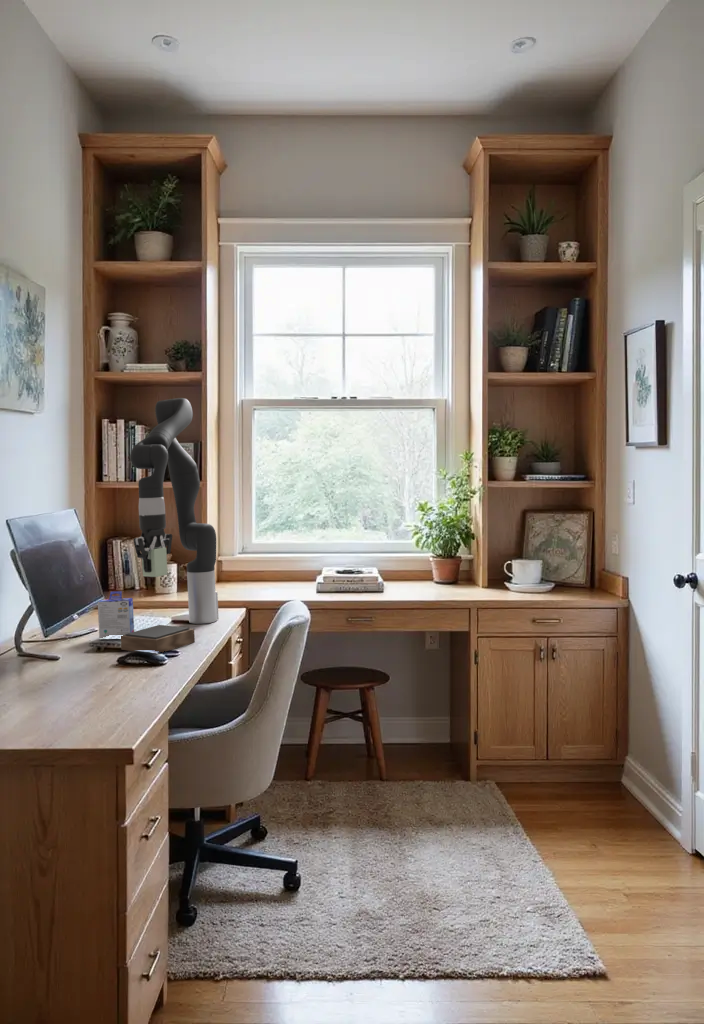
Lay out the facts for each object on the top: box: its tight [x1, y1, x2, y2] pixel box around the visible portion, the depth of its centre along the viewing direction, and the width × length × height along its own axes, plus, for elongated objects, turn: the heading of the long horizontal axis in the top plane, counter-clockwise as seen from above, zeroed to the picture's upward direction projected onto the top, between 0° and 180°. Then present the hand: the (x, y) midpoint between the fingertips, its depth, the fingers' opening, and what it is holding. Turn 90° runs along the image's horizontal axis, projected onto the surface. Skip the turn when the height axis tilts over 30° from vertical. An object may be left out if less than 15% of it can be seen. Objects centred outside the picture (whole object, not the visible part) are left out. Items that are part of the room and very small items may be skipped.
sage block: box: [141, 547, 168, 578], centre depth 242 cm, size 5×5×8 cm
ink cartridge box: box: [97, 590, 135, 638], centre depth 255 cm, size 10×6×14 cm, turn 92°
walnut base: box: [120, 624, 196, 653], centre depth 243 cm, size 16×14×4 cm
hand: (154, 570), depth 242 cm, fingers closed on sage block, 5 cm apart
